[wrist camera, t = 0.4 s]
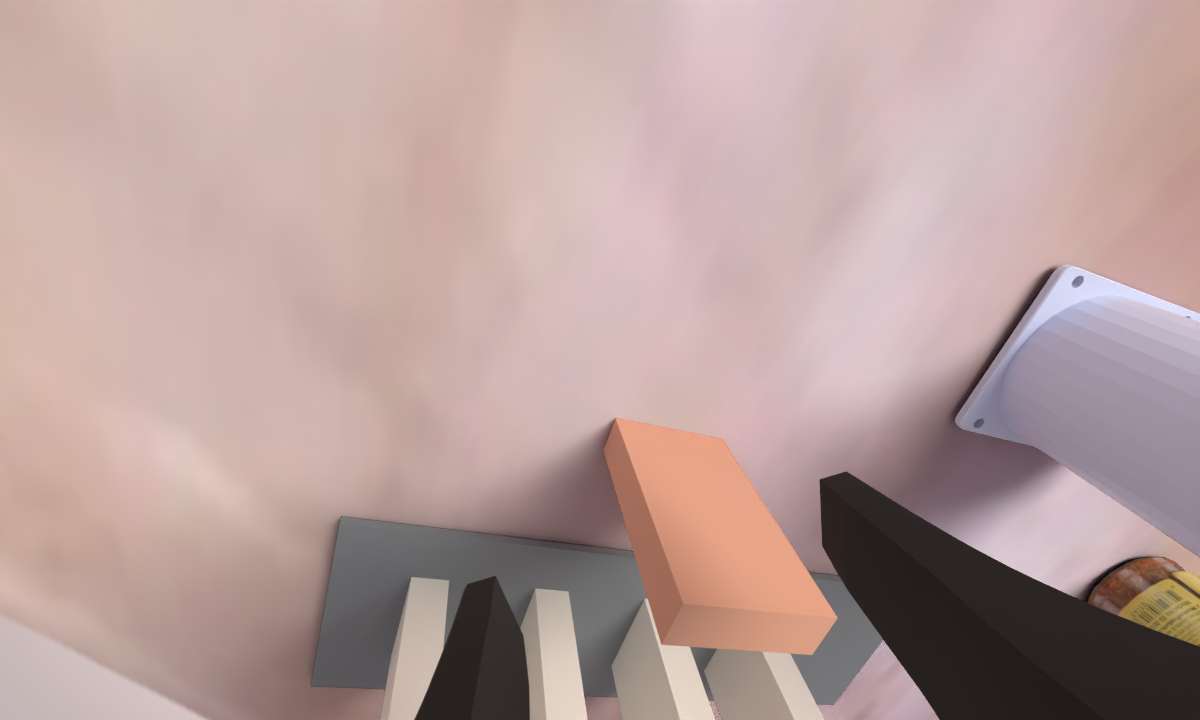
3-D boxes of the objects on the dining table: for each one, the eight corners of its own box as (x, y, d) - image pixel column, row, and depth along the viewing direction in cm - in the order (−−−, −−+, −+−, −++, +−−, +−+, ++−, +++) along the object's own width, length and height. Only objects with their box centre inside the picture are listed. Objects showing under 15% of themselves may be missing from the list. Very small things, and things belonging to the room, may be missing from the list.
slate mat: (915, 585, 31) (919, 591, 30) (830, 698, 35) (833, 704, 34) (341, 516, 22) (339, 523, 22) (312, 678, 26) (310, 686, 26)
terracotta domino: (615, 418, 22) (683, 603, 14) (722, 438, 24) (837, 618, 16) (603, 450, 23) (661, 645, 15) (708, 468, 24) (812, 655, 16)
